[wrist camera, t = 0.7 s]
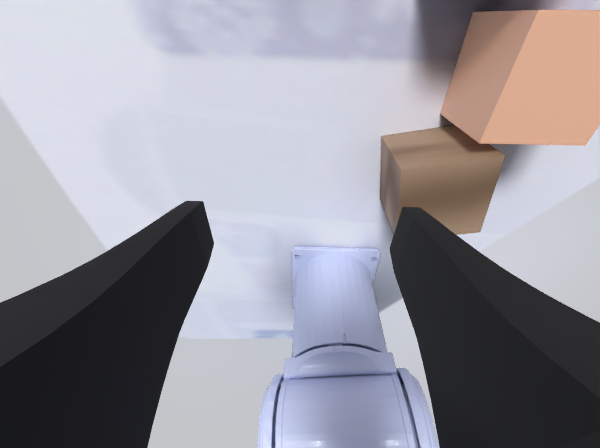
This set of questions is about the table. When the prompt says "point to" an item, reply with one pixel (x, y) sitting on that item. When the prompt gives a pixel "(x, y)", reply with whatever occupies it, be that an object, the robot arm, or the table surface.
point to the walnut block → (439, 176)
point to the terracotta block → (528, 78)
